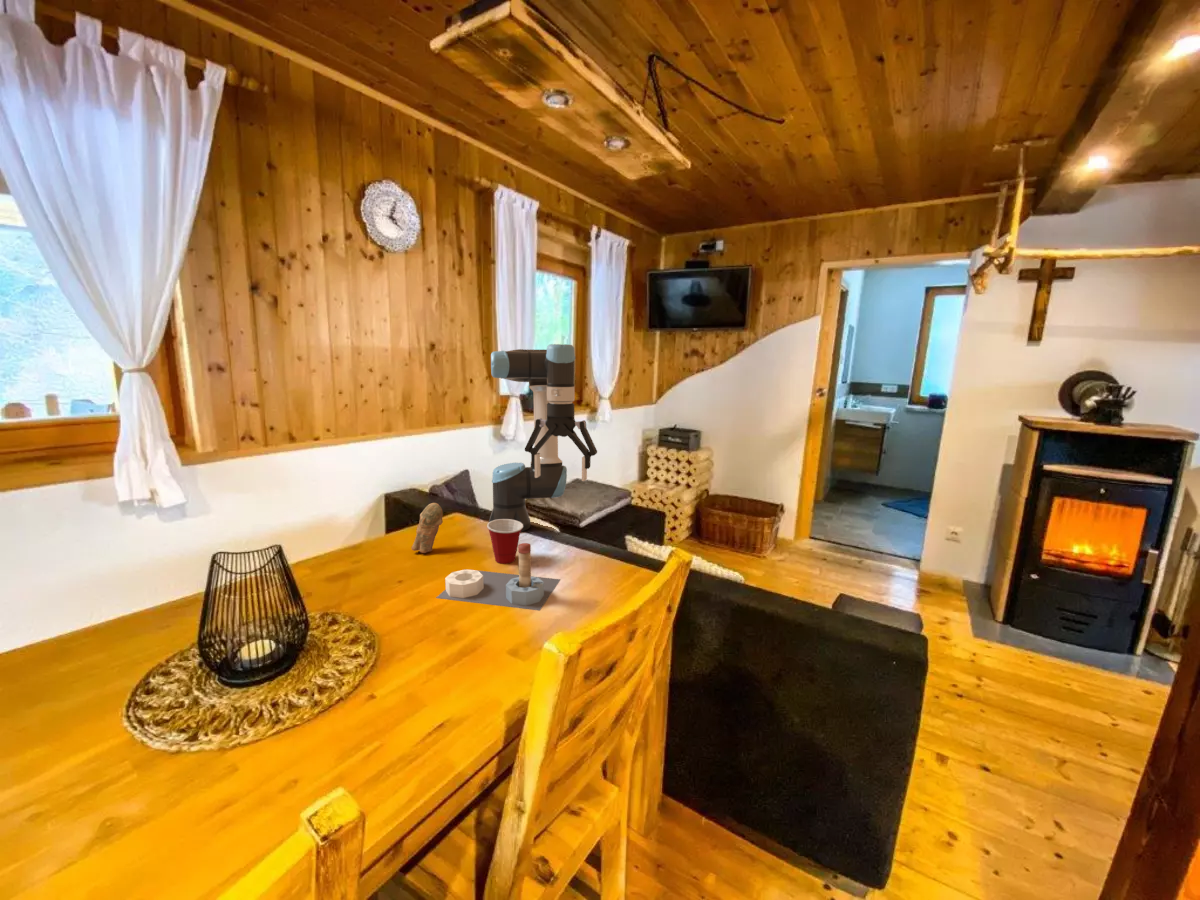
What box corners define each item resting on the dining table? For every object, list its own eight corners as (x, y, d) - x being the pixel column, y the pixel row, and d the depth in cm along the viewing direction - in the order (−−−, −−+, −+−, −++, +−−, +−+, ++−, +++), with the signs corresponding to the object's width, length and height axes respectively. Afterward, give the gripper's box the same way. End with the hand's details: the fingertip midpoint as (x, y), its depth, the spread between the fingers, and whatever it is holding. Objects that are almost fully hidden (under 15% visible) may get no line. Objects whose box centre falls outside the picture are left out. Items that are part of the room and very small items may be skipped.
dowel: (521, 593, 131) (520, 542, 128) (533, 594, 130) (532, 543, 128) (517, 598, 128) (516, 546, 125) (528, 599, 127) (528, 548, 125)
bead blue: (515, 587, 134) (515, 574, 134) (547, 590, 132) (547, 578, 132) (501, 602, 125) (501, 589, 125) (536, 606, 124) (535, 593, 123)
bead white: (457, 580, 138) (456, 568, 137) (487, 584, 136) (487, 571, 135) (440, 595, 129) (439, 582, 128) (472, 599, 127) (472, 586, 126)
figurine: (410, 553, 157) (407, 508, 154) (426, 544, 164) (423, 501, 162) (433, 557, 154) (430, 510, 152) (448, 548, 162) (446, 503, 159)
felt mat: (468, 570, 145) (468, 569, 145) (560, 580, 139) (560, 579, 139) (435, 599, 128) (435, 597, 128) (539, 611, 122) (539, 610, 122)
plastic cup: (511, 571, 145) (510, 532, 143) (480, 565, 149) (479, 526, 147) (530, 557, 155) (530, 521, 153) (501, 552, 159) (500, 516, 157)
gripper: (512, 401, 134) (513, 478, 138) (602, 405, 129) (601, 484, 133) (522, 399, 141) (523, 472, 145) (608, 402, 136) (607, 478, 140)
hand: (560, 478), depth 139 cm, fingers open, 13 cm apart
